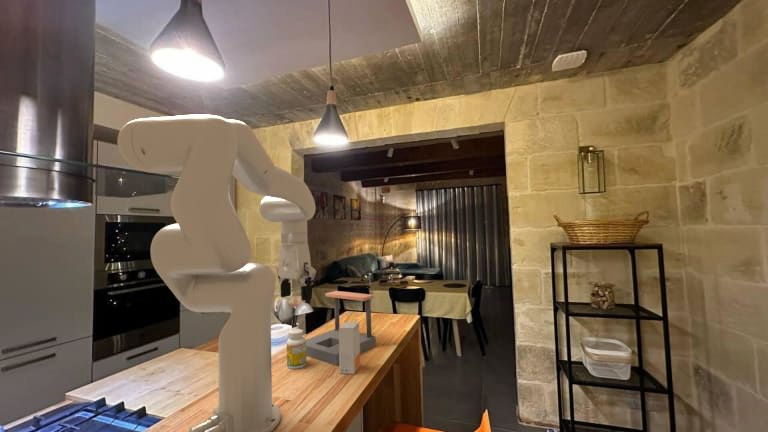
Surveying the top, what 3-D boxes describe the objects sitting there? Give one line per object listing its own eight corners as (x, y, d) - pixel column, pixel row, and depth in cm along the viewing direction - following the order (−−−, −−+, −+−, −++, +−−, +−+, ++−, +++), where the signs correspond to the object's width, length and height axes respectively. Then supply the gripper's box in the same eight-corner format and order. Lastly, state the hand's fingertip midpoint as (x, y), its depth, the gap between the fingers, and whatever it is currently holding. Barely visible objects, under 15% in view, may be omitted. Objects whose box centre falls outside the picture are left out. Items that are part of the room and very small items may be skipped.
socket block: (336, 365, 85) (334, 306, 86) (296, 352, 96) (295, 300, 97) (376, 345, 99) (374, 294, 100) (337, 336, 110) (336, 290, 111)
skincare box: (354, 374, 79) (353, 328, 80) (339, 373, 80) (337, 327, 80) (361, 364, 85) (359, 321, 86) (346, 364, 86) (345, 321, 86)
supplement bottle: (306, 367, 84) (306, 332, 85) (286, 370, 83) (286, 335, 83) (305, 360, 89) (305, 327, 90) (287, 363, 88) (286, 329, 88)
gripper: (266, 240, 91) (267, 297, 90) (302, 239, 80) (304, 304, 80) (287, 239, 97) (288, 292, 96) (323, 238, 86) (325, 298, 85)
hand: (295, 297), depth 88 cm, fingers open, 9 cm apart
